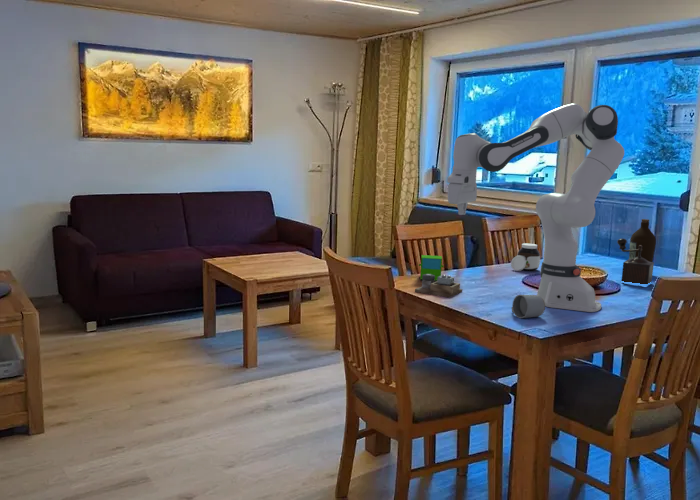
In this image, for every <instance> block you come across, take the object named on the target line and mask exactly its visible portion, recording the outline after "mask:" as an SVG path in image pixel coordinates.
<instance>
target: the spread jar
mask: <svg viewBox="0 0 700 500" xmlns="http://www.w3.org/2000/svg"><path fill="white" fill-rule="evenodd" d="M540 263H541V253H540V250H538V244H535V243H526V242H525V243H521V248H519V250H518V251H517V254H516V256H514V257H513V258H512V259H511V261H510V267H511V269H513V270H514V271H516V272H522V271H523V270H524V271H523V272H536V271H537V270H538V269H539V267H540Z"/></svg>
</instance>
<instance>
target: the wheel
mask: <svg viewBox="0 0 700 500" xmlns="http://www.w3.org/2000/svg"><path fill="white" fill-rule="evenodd" d="M422 279H423V280H426V281H434V282H435V281H436V280H435V275H432V274H423V276H422Z"/></svg>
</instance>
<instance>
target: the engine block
mask: <svg viewBox="0 0 700 500" xmlns="http://www.w3.org/2000/svg"><path fill="white" fill-rule="evenodd" d="M436 281H437V284H439V285H445V286H453V285H454V283H455V276H451V275H449V274H448V275H447V274H441V276H439V277H438V280H436Z"/></svg>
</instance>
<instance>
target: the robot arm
mask: <svg viewBox="0 0 700 500" xmlns="http://www.w3.org/2000/svg"><path fill="white" fill-rule="evenodd" d="M530 124H531V125H530V126H529V128H528V129H527V130H526V131H524V132H523V133H520V134H519V135H517V136H515V137H512V138H510V139H509V140H507V141H503V142H493V143H492V142H490V141H487V139H486V140H485V139H484V138H482V137H481V136H479V135H478V134H477V133H475V132H471V133H464V134H460V135H459V136H457V137H456V139H455V142H454V146H453V156H452V157H453V166H452V172H451V174H449V175H448V176H447V181H446V182H447V183H448V185H447V202H448V204H451V205H456V207H457V210H458V212H457V215H459V216H462V215H466V214H467V213H466V212H467V207H468V204H469V203H471V202H475V201H477V196H478V193H477V192H478V191H477V190H478V188H477V170H478V168H482V169H484V170H486V171H487V172H491V173H494V172H495V173H496V172H499V171H501V170H503V169H504V168H505V167H507V165H508V163H510V162H511V161H512V160H513V159H514V158H516V157H518V156H520V155H522V154H523V153H524V154H525V153H526V152H528V151H530V150H532V149H534V148H537V147H538V148H539V147H542V146H546V145H551V144H554V143H556V142H559V141H561V140H562V139H565V138H566V137H569V136H572V135H575V139H577V140H578V141H579V143H581V145H583V147H584V148H586V149H587V150H589V153H588V154H587V155H586V156H585V157H584V159H583V160H582V161H581V163H580V164H579V165H578V167H577V168H576V169H575V170H574V171H573V172H572V174H571V176H570V178H571V182H572V183H571V186H570V188H569V190H568V191H567V192H565V193H559V192H551V193H545V194H543V195H541V196H540V197H539V198H538V199H537V202H536V204H535V212H536V215H537V216H538V217H539V219H540V222H541V223H540V224H541V226H542V231H543V238H544V245H543V247H544V250H543V260H542V262H541V266H540V282H539V287H538V290H537V293H536V295H537V296H540V297H541V298H542V299H543V300H544V303H545V307H547V308H553V309H563V310H571V311H579V312H588V313H594V312H598V311H600V310H601V309H602V303H600V302H599V301H596V292H595V289H594V287H592V285H590V283H588V282H587V281H586V280H585V279H584V278H582V276H581V274H582V267H581V266H578V265H576V263H577V254H578V253H577V252H578V241H577V240H576V238H575V237H574V235H573V233H572V232H573V231H572V228H573V229H575V228H576V229H577V228H585V227H588V226H590V224H592V223H593V221H594V219H595V217H596V206H595V203H596V200H597V197H598V196H599V193H600V192H601V191H602V189H603V188H604V186H606V184H607V183H608V181H610V179H611V177H612V176H613V175H614V174H615V172H616V170H618V167H619V165H620V164H621V163H622V160H623V158H624V156H625V148H624V147H623V146H622V144H621V143H620V142H619V141H617V140H616V139H615V136H617V133H618V125H619V118H618V114H617V112H616V110H615V109H614V108H613V107H612V106H611V105H608V104H600V105H596V106H594V107H593V108H591V109H590V110H589V112H586V111H585V109H584V108H583V107H582V106H581V105H580V104H578V103H569V104H565V105H562V106H560V107H557V108H554V109H552V110H549V111H548V112H545V113H543V114H541V115H540V116H539V117H537V118H536V119H534V120H533V121H532V122H531V123H530Z"/></svg>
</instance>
